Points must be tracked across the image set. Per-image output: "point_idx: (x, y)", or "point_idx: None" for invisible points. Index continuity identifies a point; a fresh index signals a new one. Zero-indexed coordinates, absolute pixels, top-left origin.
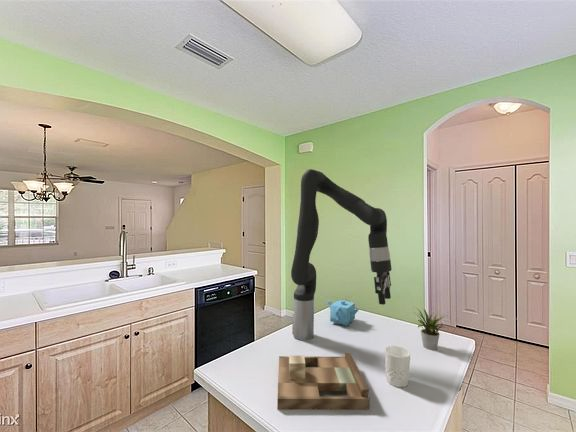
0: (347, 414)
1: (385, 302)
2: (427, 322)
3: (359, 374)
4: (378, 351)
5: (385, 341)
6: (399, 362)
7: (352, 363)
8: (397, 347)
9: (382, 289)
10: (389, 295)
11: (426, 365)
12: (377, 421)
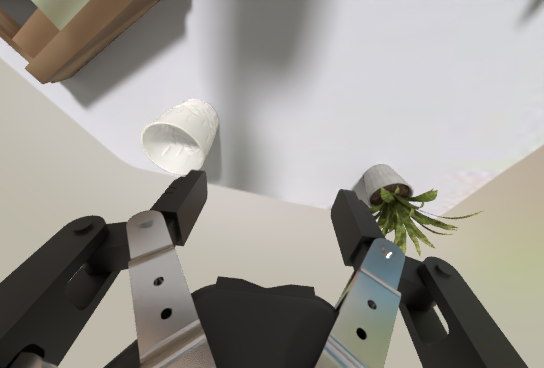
0: None
1: (204, 203)
2: (386, 215)
3: (71, 48)
4: (323, 60)
5: (403, 74)
6: (154, 149)
7: (101, 8)
8: (200, 149)
9: (101, 287)
10: (335, 226)
11: (290, 165)
12: (59, 96)
